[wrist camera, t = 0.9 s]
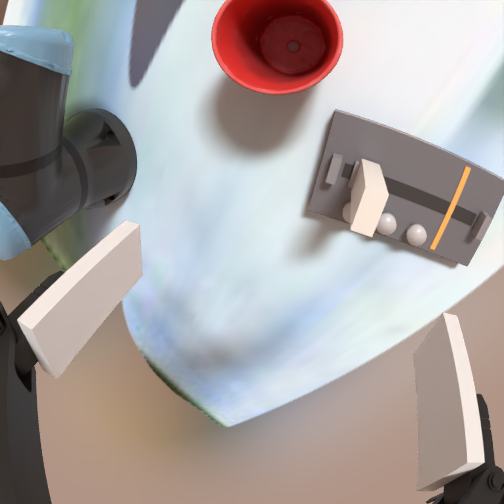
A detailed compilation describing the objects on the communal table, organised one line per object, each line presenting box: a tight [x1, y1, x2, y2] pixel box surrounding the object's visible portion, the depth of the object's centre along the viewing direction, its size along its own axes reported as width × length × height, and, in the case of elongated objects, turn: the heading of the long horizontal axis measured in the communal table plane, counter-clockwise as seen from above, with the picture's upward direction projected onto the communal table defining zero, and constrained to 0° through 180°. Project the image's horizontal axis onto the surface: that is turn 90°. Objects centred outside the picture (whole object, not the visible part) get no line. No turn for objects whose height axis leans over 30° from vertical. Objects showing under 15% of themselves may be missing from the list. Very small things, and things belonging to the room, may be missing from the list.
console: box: [308, 109, 504, 266], centre depth 32 cm, size 22×12×4 cm, turn 79°
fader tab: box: [348, 159, 389, 237], centre depth 28 cm, size 3×4×10 cm
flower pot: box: [211, 0, 343, 95], centre depth 25 cm, size 11×11×10 cm
